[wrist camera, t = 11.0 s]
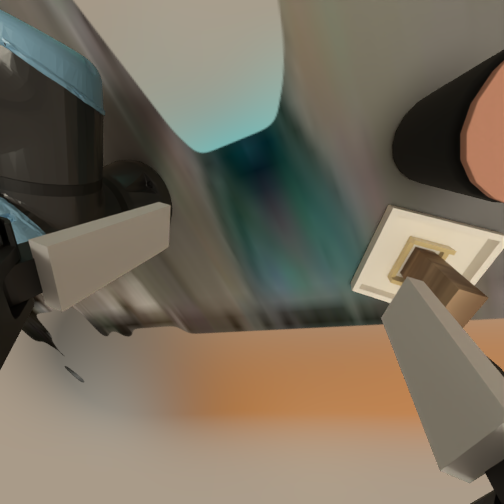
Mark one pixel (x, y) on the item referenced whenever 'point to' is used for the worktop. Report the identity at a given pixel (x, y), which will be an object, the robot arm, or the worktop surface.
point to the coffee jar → (458, 135)
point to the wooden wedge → (445, 284)
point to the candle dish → (426, 237)
